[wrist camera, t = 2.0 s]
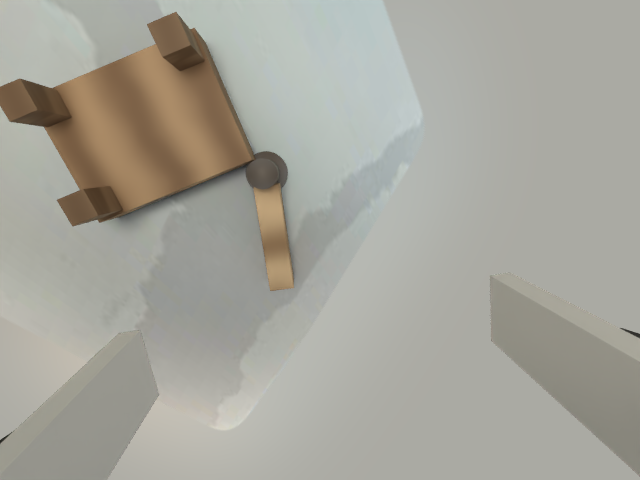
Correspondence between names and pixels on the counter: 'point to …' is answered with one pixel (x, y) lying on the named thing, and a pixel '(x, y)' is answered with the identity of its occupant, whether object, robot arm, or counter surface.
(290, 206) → the counter surface
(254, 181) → the hinged leg
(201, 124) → the stool top
